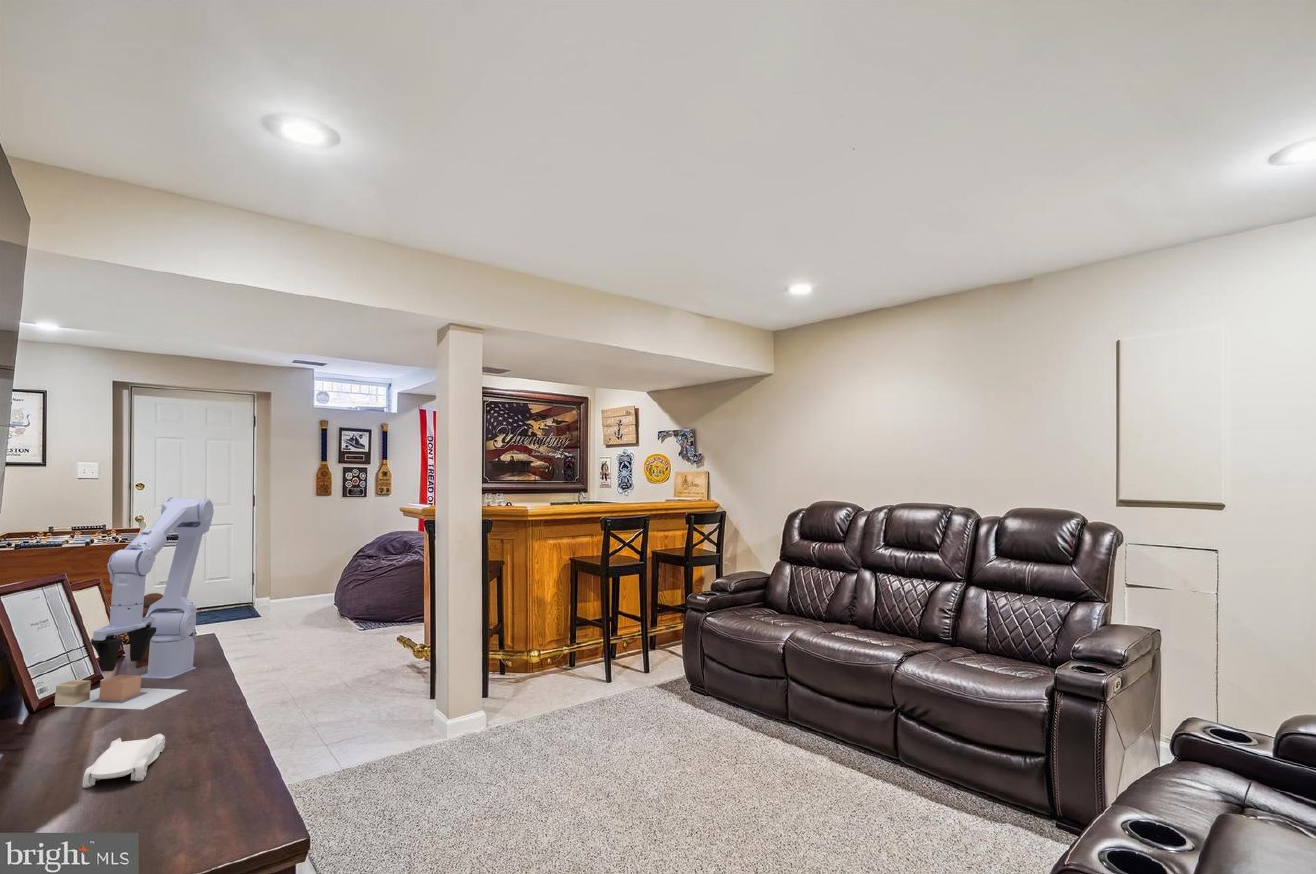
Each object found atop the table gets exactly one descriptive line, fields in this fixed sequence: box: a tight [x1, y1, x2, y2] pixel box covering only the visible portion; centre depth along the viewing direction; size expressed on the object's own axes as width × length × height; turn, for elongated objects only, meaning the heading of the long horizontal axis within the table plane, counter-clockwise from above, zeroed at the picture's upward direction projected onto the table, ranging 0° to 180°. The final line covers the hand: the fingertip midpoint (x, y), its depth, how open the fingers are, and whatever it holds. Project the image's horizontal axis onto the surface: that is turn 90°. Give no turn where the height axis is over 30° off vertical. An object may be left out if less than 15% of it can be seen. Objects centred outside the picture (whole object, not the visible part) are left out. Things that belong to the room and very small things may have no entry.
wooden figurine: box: [135, 592, 167, 669], centre depth 175 cm, size 12×6×18 cm, turn 36°
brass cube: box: [54, 679, 92, 706], centre depth 143 cm, size 4×4×4 cm
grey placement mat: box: [54, 687, 188, 710], centre depth 146 cm, size 13×20×1 cm, turn 89°
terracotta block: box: [99, 674, 142, 701], centre depth 146 cm, size 5×5×4 cm
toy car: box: [82, 733, 166, 789], centre depth 114 cm, size 18×8×4 cm, turn 25°
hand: (122, 665), depth 147 cm, fingers open, 7 cm apart
